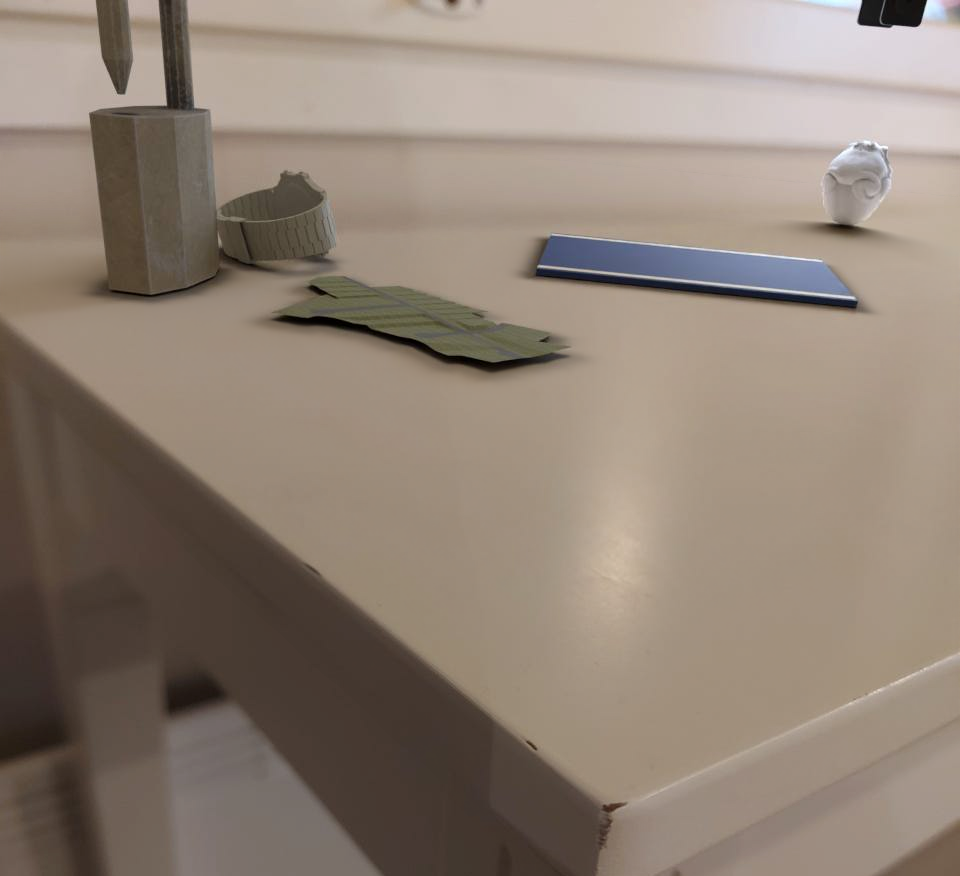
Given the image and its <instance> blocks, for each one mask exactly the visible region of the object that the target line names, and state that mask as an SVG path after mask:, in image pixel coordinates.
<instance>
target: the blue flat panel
mask: <svg viewBox="0 0 960 876" xmlns="http://www.w3.org/2000/svg"><path fill="white" fill-rule="evenodd" d="M535 275H536V276H541V277H550V278H551V277H553V278H562V279H571V280H572V279H573V280H580V281H581V280H582V281H593V282H601V283H611V284H621V285H631V286H642V287H651V288H660V289H661V288H662V289H671V290H681V291H689V292H690V291H691V292H700V293H711V294H718V295H719V294H721V295H729V296H740V297H747V298H748V297H749V298H757V299H758V298H759V299H769V300H778V301H779V300H780V301H788V302H789V301H790V302H798V303H807V304H819V305H828V306H837V307H838V306H839V307H847V308H857V307H858V303H859V300H858V299H857V298H856V297H855V296H854V294H852V292H851V291H850V290H849V289H848V288H847V287H846V286H845V284H844V283H842V281H841V280H840V279H839V278H838V277H837V276H836V274H835V273H834V272H833V271H832V270H831V269H830V267H829V266H828V265H827V264H826V263H825V261H823V259H822V258H813V257H803V256H802V257H801V256H791V255H782V254H771V253H761V252H750V251H742V250H731V249H721V248H712V247H711V248H710V247H700V246H692V245H691V246H689V245H681V244H669V243H659V242H651V241H650V242H649V241H639V240H629V239H620V238H609V237H608V238H607V237H601V236H600V237H599V236H591V235H589V236H588V235H578V234H569V233H557V232H550V235H549V237H548V240H547V242H546V245H545V248H544V251H543V252H542V254H541V257H540V260H539V262H538V264H537V267H536V269H535Z"/></svg>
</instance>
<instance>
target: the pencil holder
mask: <svg viewBox="0 0 960 876" xmlns="http://www.w3.org/2000/svg"><path fill="white" fill-rule="evenodd" d="M95 7H96V16H97V26H98V35H99V44H100V45H99V46H100V52H101V53H100V54H101V58H102V61H103V64H104V66H105V68H106V71H107V73H108V75H109V78H110V80H111V82H112V85H113V87H114V89H115V92H116V95H123V96H125V95H126V92H127V89H128V84H129V80H130V75H131V71H132V66H133V62H134V52H133V43H132V42H133V41H132V31H131V21H130V20H131V19H130V11H129V9H130V8H129V0H95ZM158 12H159V24H160V36H161V37H160V39H161V48H162V49H161V51H162V60H163V61H162V62H163V73H164V74H163V75H164V86H165V99H166V104H163V105H130V106H129V105H128V106H119V107H118V106H117V107H105V108H99V109H95V110H93V111H90V112H88V116H89V126H90V135H91V142H92V152H93V161H94V169H95V177H96V187H97V195H98V204H99V211H100V220H101V221H100V222H101V230H102V238H103V247H104V255H105V256H104V257H105V263H106V272H107V282H108V290H111V291H120V292H127V293H128V292H129V293H134V294H141V295H156V294H161V293H167V292H171V291H177V290H181V289H186V288H189V287H191V286H194V285H196V284H198V283H202V282H203V281H206V280H208V279H210V278H213V277H215V276H216V275H217V272H218V271H219V269H220V267H221V264H220V250H219V249H220V248H219V233H218V229H217V212H216V209H217V197H216V196H217V195H216V182H215V165H214V164H215V163H214V148H213V147H214V146H213V131H212V116H211V115H212V114H211V113H212V112H211V109H210V108H200V107H199V108H198V107H195V97H194V82H193V80H194V79H193V67H192V51H191V38H190V37H191V35H190V22H189V7H188V0H158Z"/></svg>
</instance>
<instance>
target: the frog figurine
mask: <svg viewBox="0 0 960 876" xmlns="http://www.w3.org/2000/svg"><path fill="white" fill-rule="evenodd" d="M893 172H894V171H893V169H892V167H891V161H890V159H889V146H886V145H882V146H881V145H879V144H878V143H877V142H876V141H873V140H871V141H870V140H862V141H857V142H850V143H849V144H848V146H847V148H846V149H845V150H843V151H842V152H841V153H840V154H839V155H837V156H836V157H834V158H833V159H832V161H831V162H830V164H829V165H828V168H827V169H826V170H825V172H824V174H823V176H822V178H821V183H820V185H821V187H822V188H823V189H822V191H821V195H822V206H823V209H824V211H825V214H826V215H827V216H828V218H830V219H831V220H832V221H833V222H834V223H836V224H839V225H843V226H853V225H857V224H860V223H862V222H864V221H866V220H867V219H868V218H869V217H871V215H872V214H874V212H875V211H876V210H877V209H878V208H879V207H880V205H881V203H882V202H883V200H884V199H885V197H886V196H887V194H888V193H889V192H890V191H891V188H892V175H893Z"/></svg>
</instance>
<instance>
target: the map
mask: <svg viewBox="0 0 960 876" xmlns="http://www.w3.org/2000/svg"><path fill="white" fill-rule="evenodd" d="M306 283H309V284H310V285H312V286H314V287H317V288H318V289H320V290H322V291H324V292H326V294H323V295H321V296H318V297H315V298H313V299H309V300H307V301H303V302H300V303H296V304H292V305H289V306H286V307H283V308H281V309H277V310H274V311H271V312H270V313H271V314H276V315H283V316H289V317H290V316H291V317H298V318H305V319H308V318H313V317H326V318H331V319H332V318H333V319H337V320H341V321H345V322H348V323H352V324H356V325H357V324H358V325H363V326H364V325H365V326H367V327H368V328H369V329H371V330H374V331H377V332H381V333H384V334H385V333H386V334H389V335H393V336H397V337H401V338H406V339H413V340H416V341H419V342H421V343H423V344H425V345H426V346H428V347H429V348H431V349H432V350H433V351H435V352H438V353H440V354H443V355H446V356H463V357H466V358H472V359H476V360H481V361H484V362H490V363H498V362H503V361H510V360H519V359H529V358H534V357H539V356H545V355H549V354H551V353H553V352H554V353H555V352H557V351H561V350H566V349H569V348H572V346H571V345H565V344H558V343H557V344H556V343H550V342H543V340H544V339H546V338H547V337H549V336H550V335H552V332H549V331H545V330H539V329H536V328H535V329H534V328H531V327H526V326H521V325H517V324H513V323H506V322H501V323H499V324H496V323H495V322H494V321H491V320H487V319H485V318H482V317H481V316H479V315H477V314H478V313H489V311H488V310H483V309H477V308H472V307H470V306H467V305H463V304H459V303H456V302H455V301H451V300H447V299H443V298H441V297H439V296H434V295H430V294H427V293H425V292H421V291H418V290H414V289H412V288H408V287H406V286H405V287H404V286H401V285H392V286H391V285H390V286H369V285H367V284H365V283H362V282H360V281H357V280H355V279H352V278H350V277H348V276H345V275H328V276H318V277H315V278H313V279H309V280H307V281H306ZM475 313H476V314H475Z"/></svg>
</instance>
